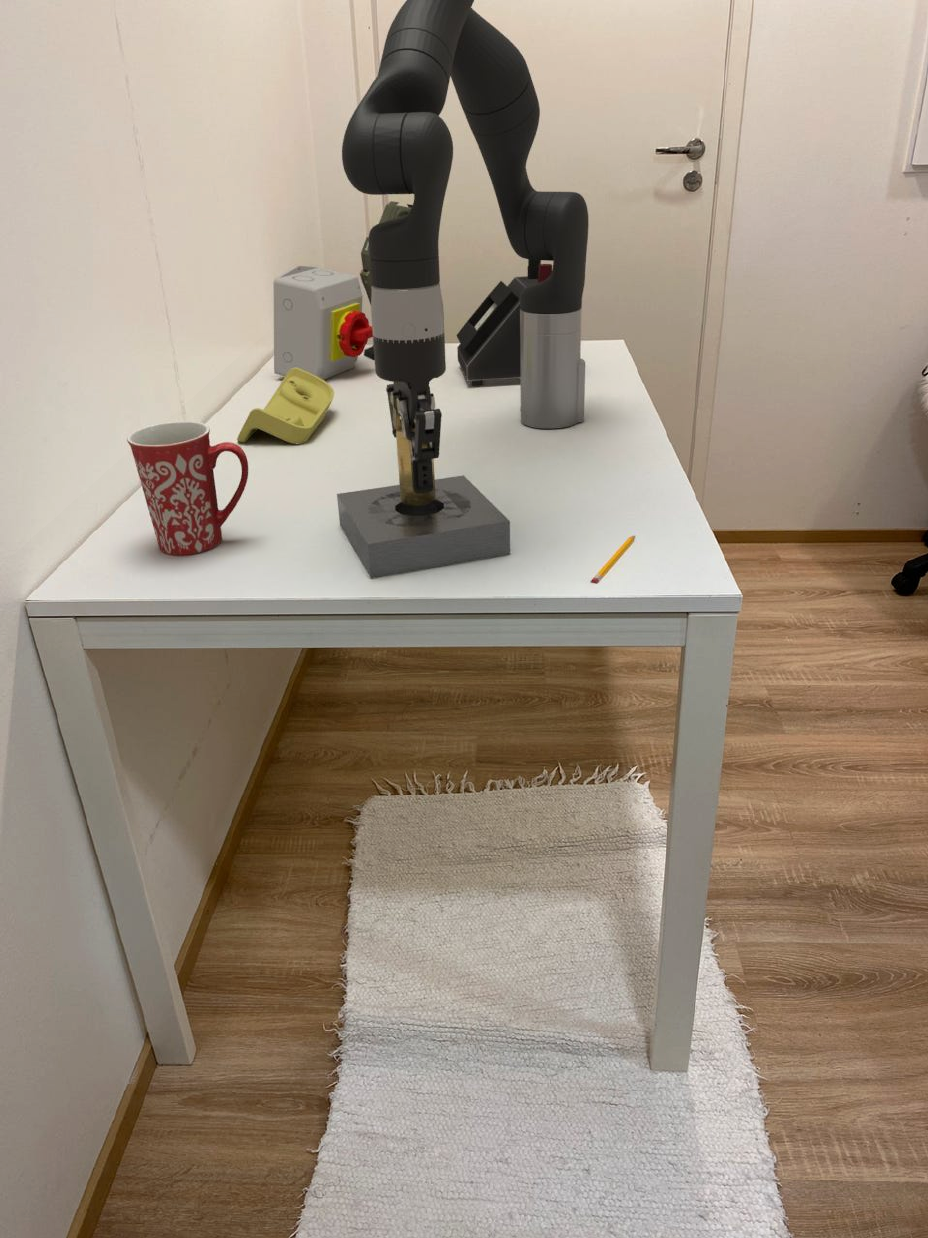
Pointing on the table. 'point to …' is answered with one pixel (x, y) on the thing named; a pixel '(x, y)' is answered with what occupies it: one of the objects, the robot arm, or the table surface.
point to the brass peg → (410, 474)
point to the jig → (422, 527)
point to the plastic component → (292, 408)
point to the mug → (183, 484)
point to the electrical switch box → (318, 321)
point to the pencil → (613, 560)
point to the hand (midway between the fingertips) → (417, 484)
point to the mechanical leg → (389, 213)
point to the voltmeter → (497, 330)
